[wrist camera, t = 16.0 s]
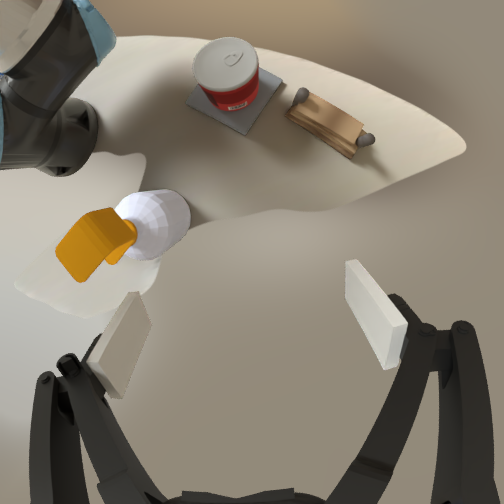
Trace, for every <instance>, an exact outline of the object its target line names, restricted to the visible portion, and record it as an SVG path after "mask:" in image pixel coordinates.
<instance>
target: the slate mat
mask: <svg viewBox="0 0 504 504" xmlns="http://www.w3.org/2000/svg"><path fill="white" fill-rule="evenodd" d="M282 81H283V80H282V79H281V78H279V77H277V76H275V75H273V74H271V73H269V72H267V71H266V70H264V69H262V68H260V67H259V89H258V93H257V96H256V98H255V99H254V100H253V102H251V103H250V104H249V105H248V106H246V107H245V108H243V109H240V110H236V111H224V110H220V109H218V108H216V107H215V106H214V105H213V104H212V103H211V102H210V101H209V99H208V98H207V96H206V95H205V93H204V92H203V90H202V89H201V87H200V86H199V84H198V85H197V86H196V87H195V89H194V90H193V92H192V93H191V95H190V96H189V98H188V99H187V101H186V102H185V104H186V105H188V106H190V107H192V108H194V109H196V110H198V111H200V112H202V113H204V114H206V115H208V116H210V117H212V118H214V119H216V120H217V121H219V122H221V123H223V124H225V125H227V126H229V127H230V128H232V129H234V130H236V131H238V132H239V133H241V134H243V135H246V134H247V132H248V131H249V129H250V128H251V126H252V125H253V123H254V122H255V120H256V119H257V117H258V116H259V114H260V113H261V111H262V110H263V108H264V107H265V106H266V104H267V103H268V101H269V100H270V98H271V97H272V95H273V94H274V93H275V91H276V90H277V88H278V87H279V86H280V84H281V83H282Z"/></svg>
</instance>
